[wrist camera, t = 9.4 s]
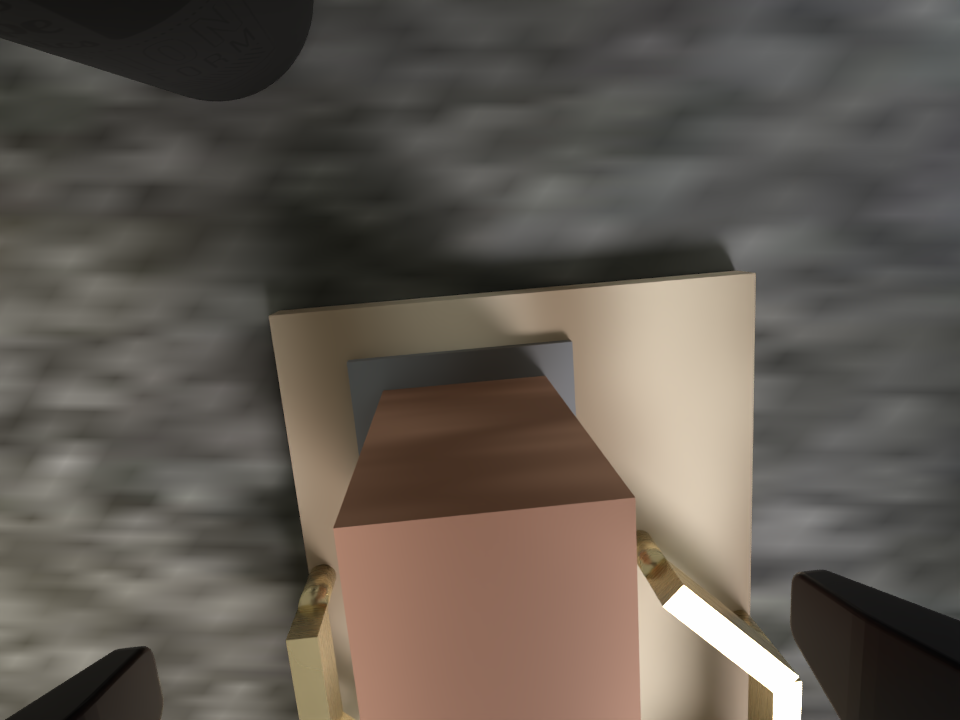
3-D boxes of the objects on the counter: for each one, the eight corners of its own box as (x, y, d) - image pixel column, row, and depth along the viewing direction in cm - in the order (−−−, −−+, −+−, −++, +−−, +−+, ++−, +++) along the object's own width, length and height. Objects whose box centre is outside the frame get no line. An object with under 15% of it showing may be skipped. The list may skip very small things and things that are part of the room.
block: (545, 375, 15) (636, 497, 8) (553, 524, 16) (641, 749, 9) (383, 390, 15) (333, 528, 8) (400, 539, 15) (368, 782, 9)
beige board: (736, 270, 16) (761, 273, 15) (729, 960, 21) (748, 1007, 20) (279, 310, 15) (264, 317, 14) (386, 1009, 20) (382, 1061, 19)
